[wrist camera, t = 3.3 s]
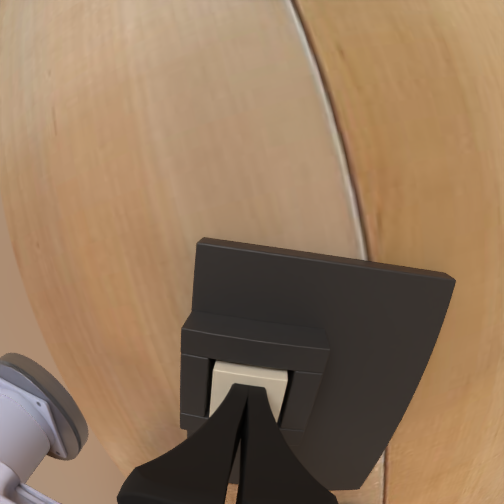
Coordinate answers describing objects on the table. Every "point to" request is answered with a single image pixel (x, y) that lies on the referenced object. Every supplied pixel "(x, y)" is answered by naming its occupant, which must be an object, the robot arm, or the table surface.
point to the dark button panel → (314, 346)
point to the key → (248, 382)
